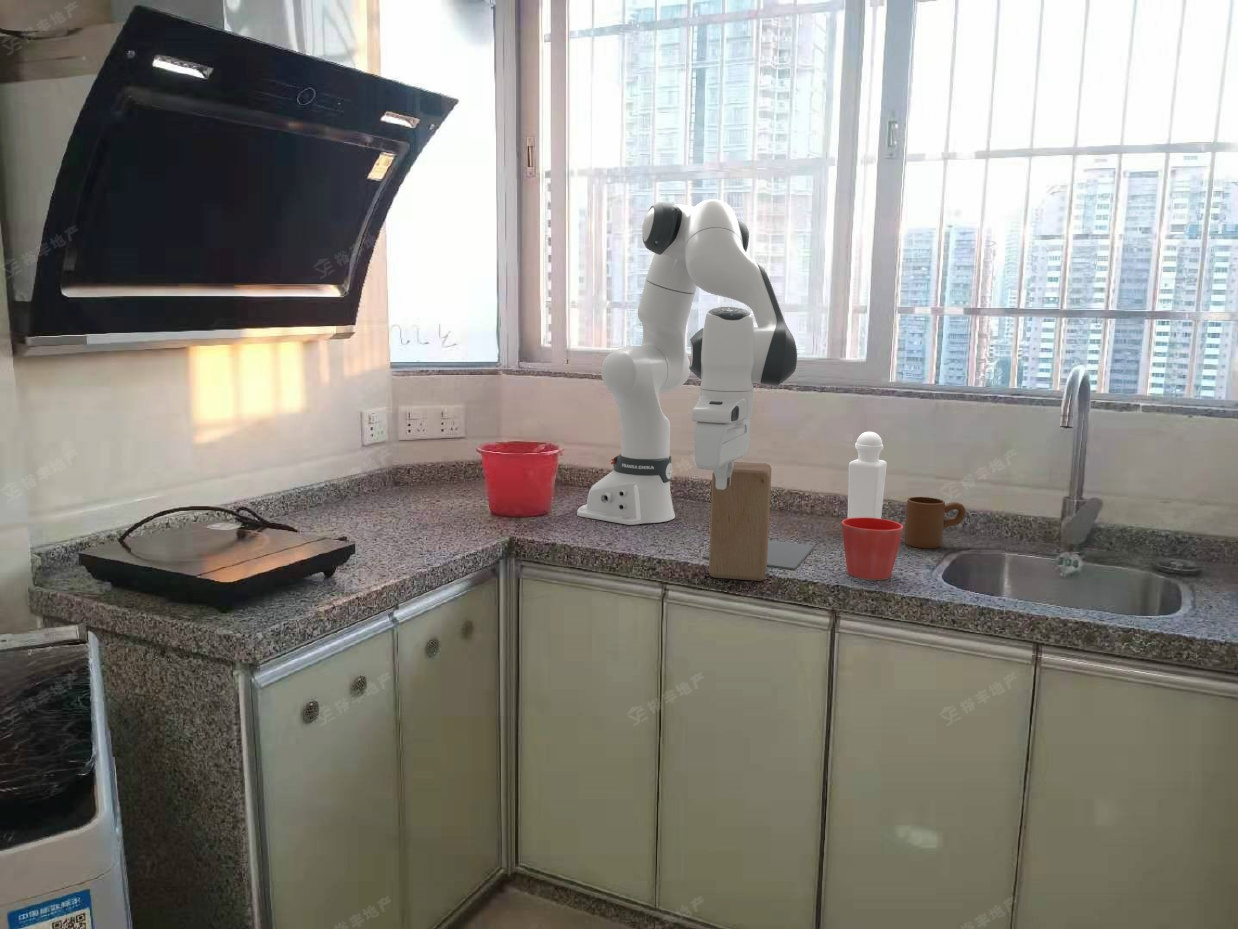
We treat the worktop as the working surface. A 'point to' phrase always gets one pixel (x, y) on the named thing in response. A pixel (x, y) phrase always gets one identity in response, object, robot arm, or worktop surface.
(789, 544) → the rubber mat
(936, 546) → the mug
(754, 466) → the wooden block
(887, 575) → the flower pot
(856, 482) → the white bottle
